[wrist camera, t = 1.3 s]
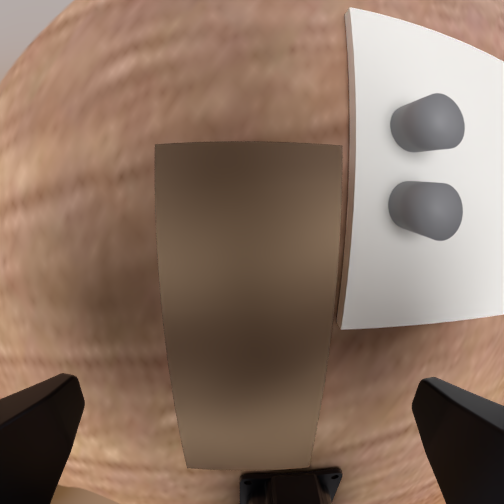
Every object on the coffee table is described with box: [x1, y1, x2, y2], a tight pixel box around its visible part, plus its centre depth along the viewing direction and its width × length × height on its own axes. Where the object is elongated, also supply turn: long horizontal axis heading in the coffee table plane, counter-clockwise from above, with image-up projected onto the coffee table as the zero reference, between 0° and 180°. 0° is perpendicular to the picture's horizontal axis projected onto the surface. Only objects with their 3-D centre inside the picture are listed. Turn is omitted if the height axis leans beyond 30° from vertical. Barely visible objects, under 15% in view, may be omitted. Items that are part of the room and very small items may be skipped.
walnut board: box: [155, 142, 342, 470], centre depth 11 cm, size 12×5×4 cm, turn 0°
